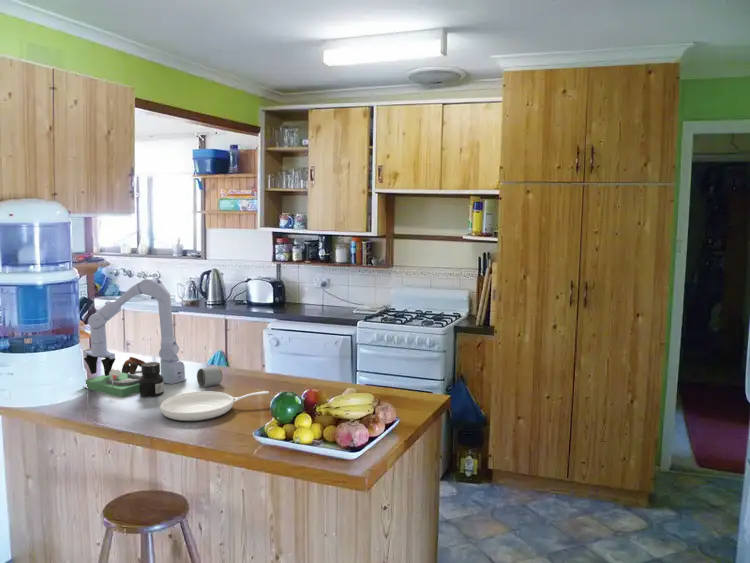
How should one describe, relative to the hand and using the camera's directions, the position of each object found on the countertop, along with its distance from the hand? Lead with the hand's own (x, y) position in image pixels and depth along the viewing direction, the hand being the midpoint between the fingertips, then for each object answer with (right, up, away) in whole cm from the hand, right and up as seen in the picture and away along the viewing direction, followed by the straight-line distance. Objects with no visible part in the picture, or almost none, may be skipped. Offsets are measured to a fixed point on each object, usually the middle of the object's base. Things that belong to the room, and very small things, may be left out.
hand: (100, 374), depth 253 cm
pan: (+56, -8, -33) cm, 66 cm away
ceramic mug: (+45, -4, -2) cm, 45 cm away
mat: (+10, -4, -5) cm, 12 cm away
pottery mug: (+8, -2, +15) cm, 17 cm away
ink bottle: (+27, -6, -15) cm, 31 cm away
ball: (+8, +1, -5) cm, 9 cm away
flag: (+13, -6, -15) cm, 21 cm away
